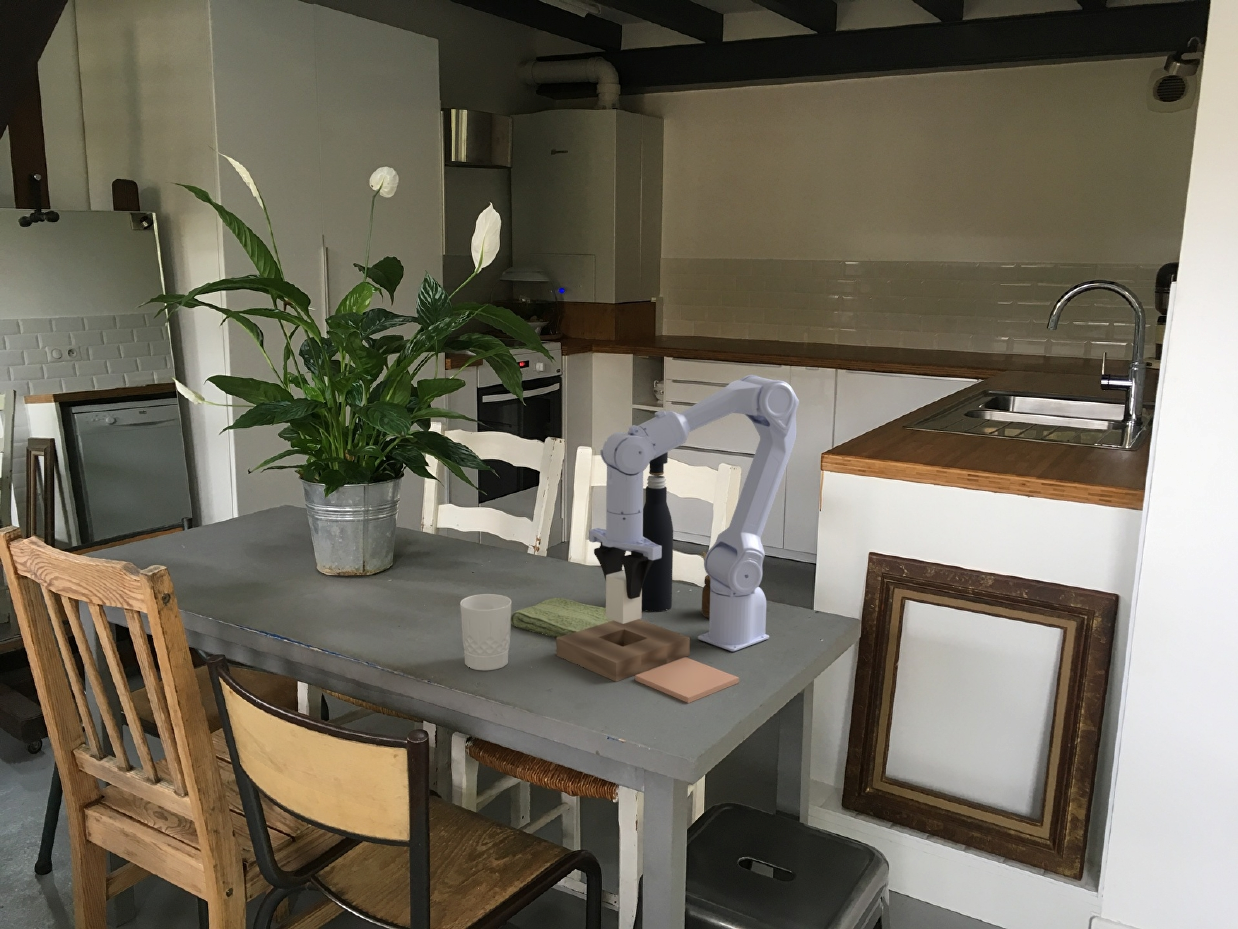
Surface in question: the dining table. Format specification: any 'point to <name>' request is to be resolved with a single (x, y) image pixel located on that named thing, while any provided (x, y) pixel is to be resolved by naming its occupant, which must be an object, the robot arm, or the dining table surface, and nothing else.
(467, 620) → the white cup
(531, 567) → the dining table surface
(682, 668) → the tile
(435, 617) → the dining table surface
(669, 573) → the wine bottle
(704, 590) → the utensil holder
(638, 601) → the plug
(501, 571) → the dining table surface
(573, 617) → the washcloth
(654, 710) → the dining table surface
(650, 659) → the brown board with hole
